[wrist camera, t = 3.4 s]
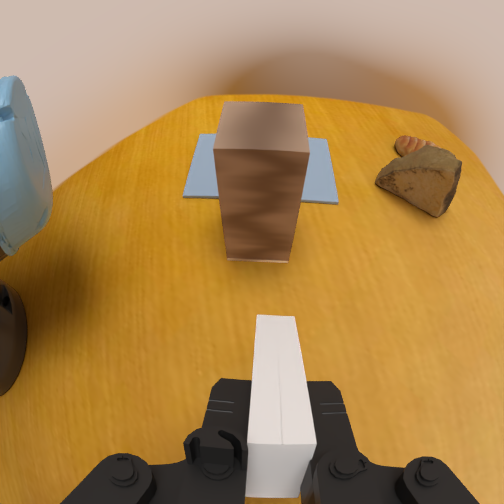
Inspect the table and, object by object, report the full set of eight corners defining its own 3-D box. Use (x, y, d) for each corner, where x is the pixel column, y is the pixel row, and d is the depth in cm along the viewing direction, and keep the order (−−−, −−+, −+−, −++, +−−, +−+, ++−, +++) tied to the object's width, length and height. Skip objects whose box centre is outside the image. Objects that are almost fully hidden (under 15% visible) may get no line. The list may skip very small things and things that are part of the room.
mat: (183, 197, 34) (182, 195, 33) (200, 136, 40) (200, 134, 40) (337, 204, 33) (338, 202, 33) (326, 141, 39) (326, 139, 39)
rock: (358, 173, 33) (423, 223, 28) (392, 115, 29) (463, 159, 24) (387, 189, 41) (437, 229, 35) (415, 143, 37) (469, 181, 31)
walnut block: (227, 260, 30) (212, 148, 18) (232, 212, 33) (224, 101, 21) (288, 262, 29) (310, 152, 17) (287, 215, 32) (302, 104, 20)
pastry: (388, 157, 39) (396, 137, 35) (397, 137, 42) (404, 119, 38) (442, 187, 36) (452, 169, 33) (446, 165, 39) (455, 148, 36)
